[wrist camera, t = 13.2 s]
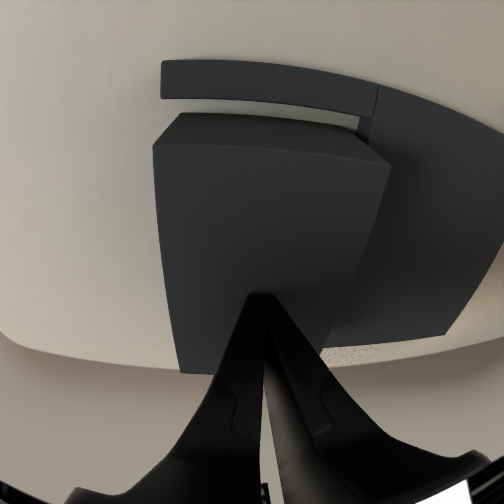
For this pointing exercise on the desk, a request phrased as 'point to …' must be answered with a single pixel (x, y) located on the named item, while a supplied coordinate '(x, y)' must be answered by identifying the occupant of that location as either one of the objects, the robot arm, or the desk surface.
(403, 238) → the base pad
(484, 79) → the desk surface
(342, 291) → the foam pad
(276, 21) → the desk surface
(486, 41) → the desk surface
